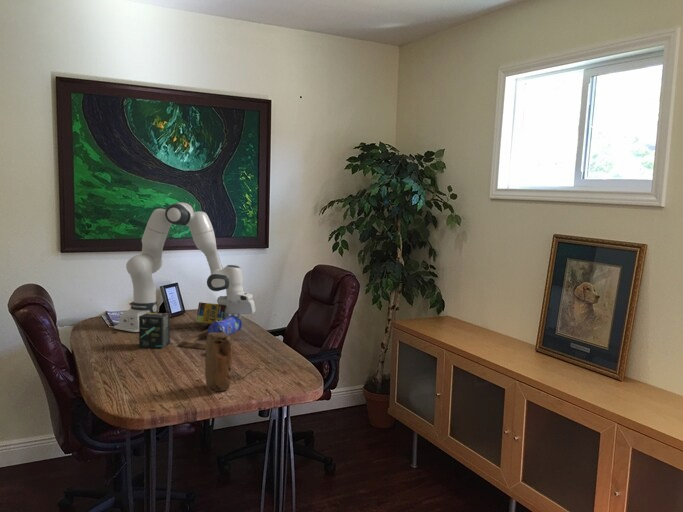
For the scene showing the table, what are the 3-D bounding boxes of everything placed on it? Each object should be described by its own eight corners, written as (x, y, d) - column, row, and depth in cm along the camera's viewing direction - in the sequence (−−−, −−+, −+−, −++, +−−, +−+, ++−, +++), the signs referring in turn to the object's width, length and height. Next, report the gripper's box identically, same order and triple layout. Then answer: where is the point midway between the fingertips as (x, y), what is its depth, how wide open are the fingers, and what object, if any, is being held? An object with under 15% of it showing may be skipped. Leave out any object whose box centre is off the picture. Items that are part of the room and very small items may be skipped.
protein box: (212, 304, 306) (198, 302, 291) (238, 307, 301) (225, 304, 287) (209, 323, 304) (195, 322, 289) (235, 326, 300) (222, 325, 285)
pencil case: (221, 342, 268) (221, 322, 267) (205, 340, 270) (205, 321, 269) (242, 332, 289) (243, 314, 288) (228, 330, 291) (228, 312, 290)
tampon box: (170, 343, 261) (170, 313, 259) (162, 349, 252) (162, 317, 250) (147, 342, 262) (147, 311, 260) (138, 347, 253) (138, 315, 251)
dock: (180, 346, 257) (180, 341, 256) (211, 332, 285) (211, 327, 284) (213, 350, 253) (213, 345, 252) (240, 335, 281) (240, 330, 280)
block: (203, 384, 207) (204, 331, 205) (222, 381, 211) (223, 329, 209) (213, 393, 198) (214, 338, 196) (233, 390, 202) (234, 336, 200)
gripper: (214, 297, 288) (215, 323, 289) (250, 297, 283) (252, 323, 284) (219, 294, 294) (221, 320, 295) (255, 295, 289) (257, 321, 290)
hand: (236, 322), depth 290 cm, fingers closed, pressing on pencil case
